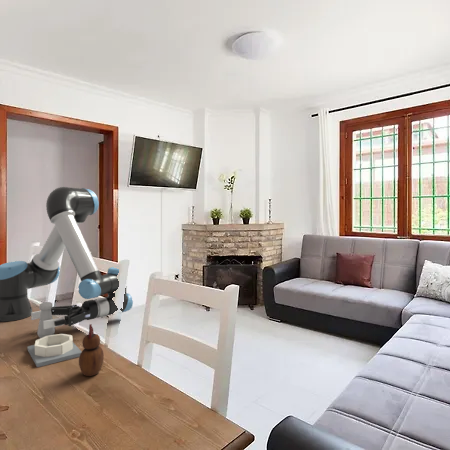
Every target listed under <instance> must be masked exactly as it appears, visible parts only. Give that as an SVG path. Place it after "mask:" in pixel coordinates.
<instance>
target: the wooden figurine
mask: <svg viewBox="0 0 450 450" xmlns="http://www.w3.org/2000/svg"><path fill="white" fill-rule="evenodd" d="M100 345H101V338H100V335H98V334H97V333H94V328H93V326H92V323H91V324H89V326H88V334H87V335H85V336H84V337H83V339H82V347H83V350H81V351H82V352H81V354H80V356H79V357H78V366H79V369H80V371H81V373H82V375H84V376H86V377H92V376H93V377H94V376H96V375H97V374H98V373H100V371H101V369H102V367H103V364H104V358H105V356H104V350H103V348H102V347H101V346H100Z"/></svg>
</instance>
